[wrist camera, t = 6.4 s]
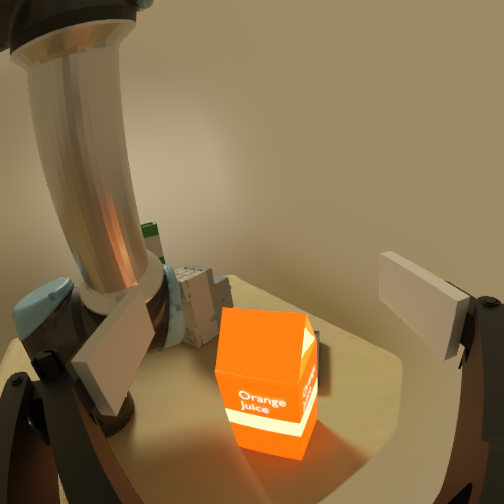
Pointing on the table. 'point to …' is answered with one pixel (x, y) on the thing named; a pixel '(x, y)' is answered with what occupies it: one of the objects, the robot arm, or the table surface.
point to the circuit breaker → (202, 302)
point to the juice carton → (268, 379)
